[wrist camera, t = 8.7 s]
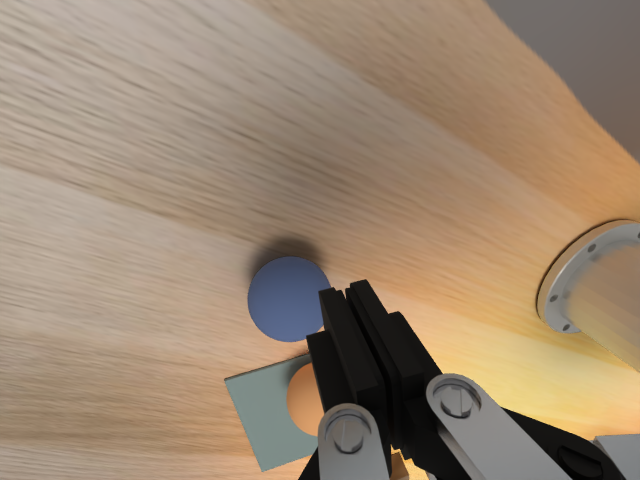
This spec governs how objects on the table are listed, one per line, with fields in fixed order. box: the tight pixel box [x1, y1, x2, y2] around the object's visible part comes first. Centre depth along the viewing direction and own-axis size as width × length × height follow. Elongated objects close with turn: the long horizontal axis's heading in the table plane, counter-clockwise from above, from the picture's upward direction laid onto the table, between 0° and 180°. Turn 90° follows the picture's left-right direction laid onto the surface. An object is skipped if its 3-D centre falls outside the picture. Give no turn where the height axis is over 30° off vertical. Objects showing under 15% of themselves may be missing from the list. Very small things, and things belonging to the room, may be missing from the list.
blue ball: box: [248, 256, 331, 342], centre depth 21 cm, size 5×5×5 cm
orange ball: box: [286, 363, 324, 436], centre depth 26 cm, size 5×5×5 cm
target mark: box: [224, 354, 318, 472], centre depth 31 cm, size 14×14×1 cm
